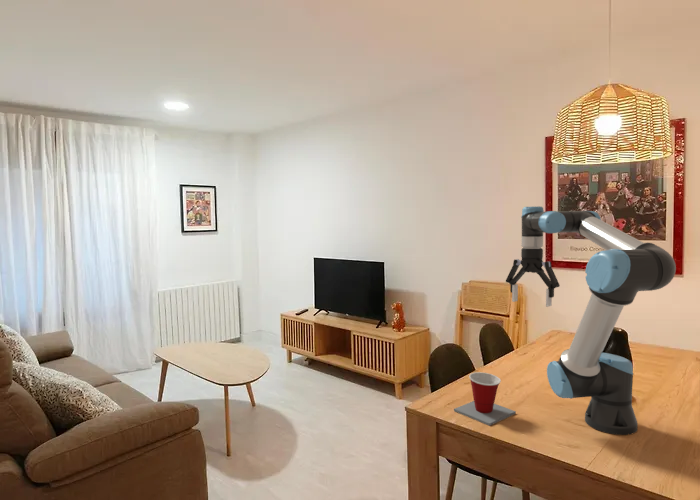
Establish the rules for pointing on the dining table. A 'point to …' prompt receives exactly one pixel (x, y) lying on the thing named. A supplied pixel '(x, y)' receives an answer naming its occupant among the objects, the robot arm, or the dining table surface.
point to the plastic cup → (484, 390)
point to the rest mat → (486, 418)
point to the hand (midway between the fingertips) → (531, 303)
